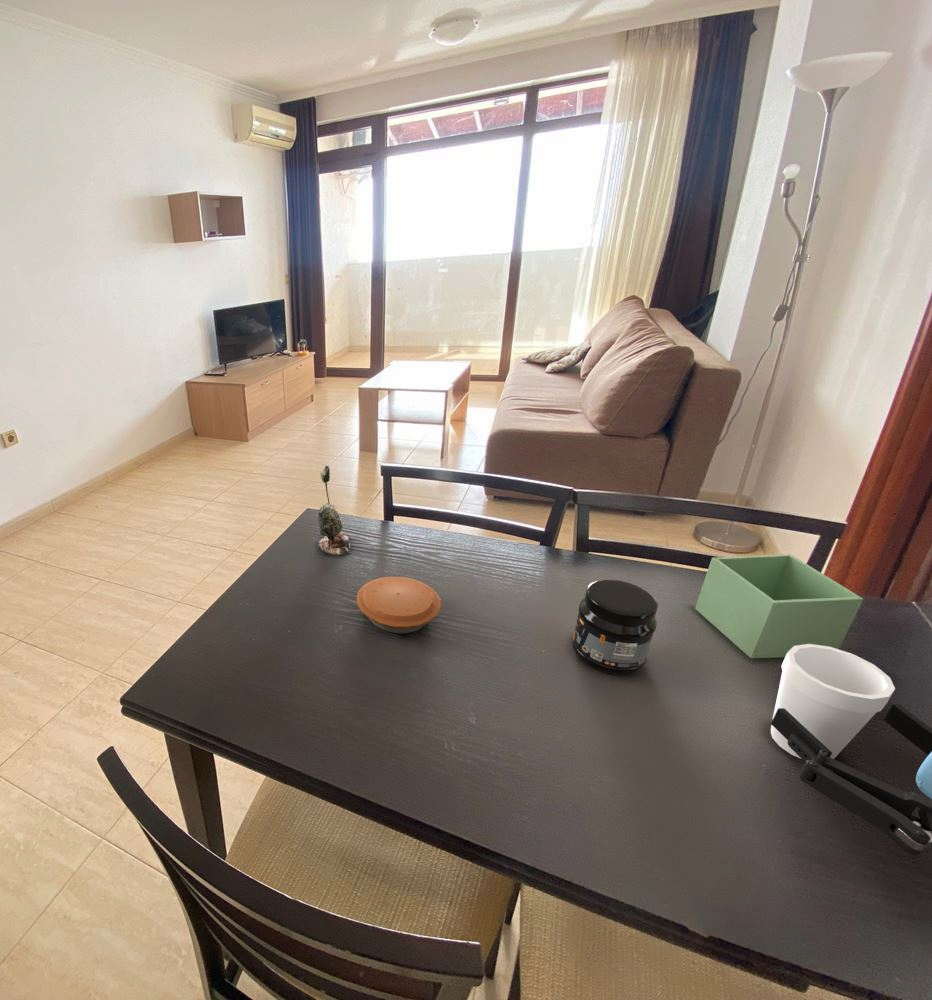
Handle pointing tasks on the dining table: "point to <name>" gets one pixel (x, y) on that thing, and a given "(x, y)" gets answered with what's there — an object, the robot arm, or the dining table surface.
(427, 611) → the pie
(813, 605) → the open green box
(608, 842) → the dining table surface
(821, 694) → the foam cup
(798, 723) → the robot arm
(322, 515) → the plant with pod
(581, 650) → the supplement container
